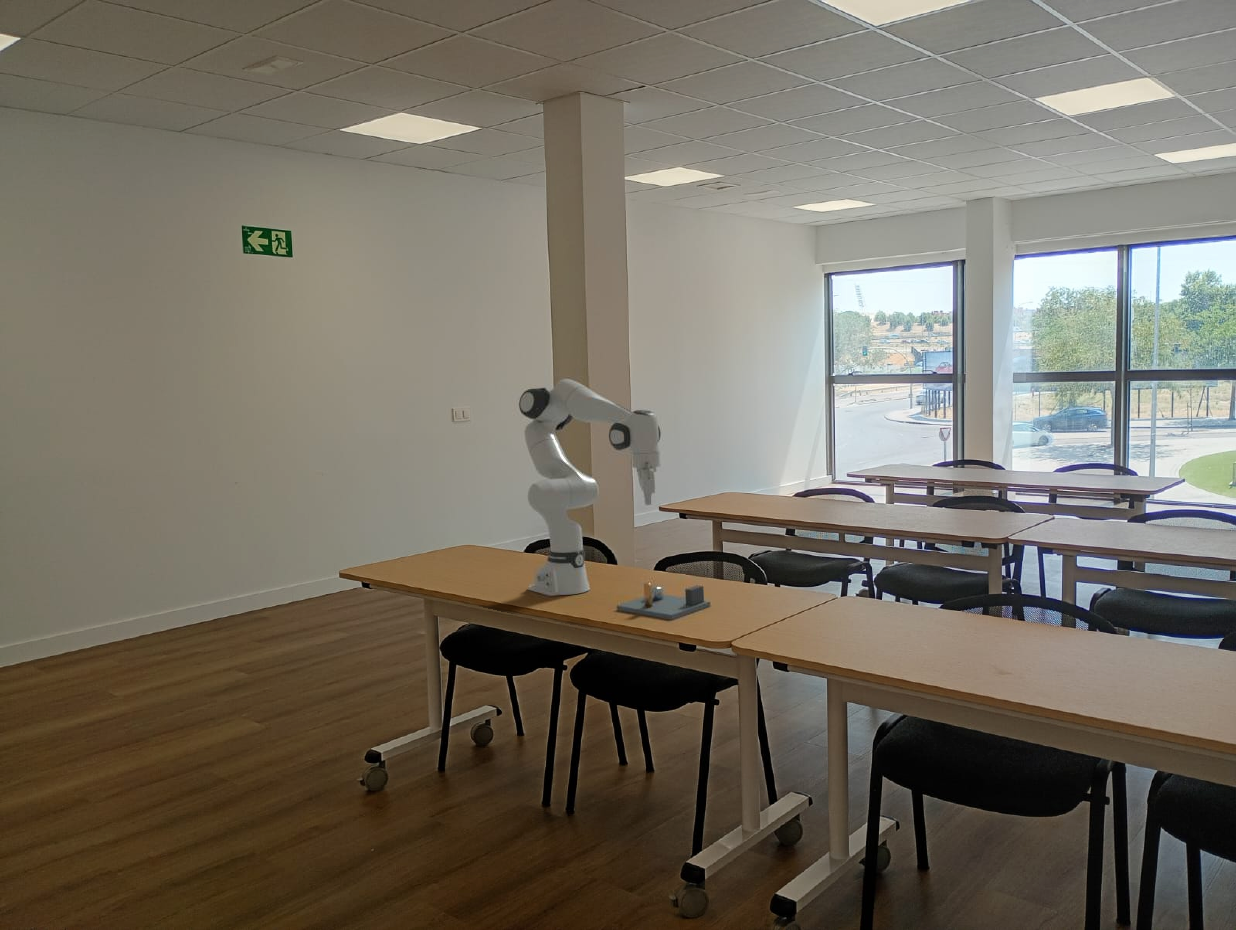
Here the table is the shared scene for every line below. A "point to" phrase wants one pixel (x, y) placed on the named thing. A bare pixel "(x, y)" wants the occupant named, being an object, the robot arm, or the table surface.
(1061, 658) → the table surface
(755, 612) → the table surface
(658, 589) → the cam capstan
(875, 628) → the table surface
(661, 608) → the stand
